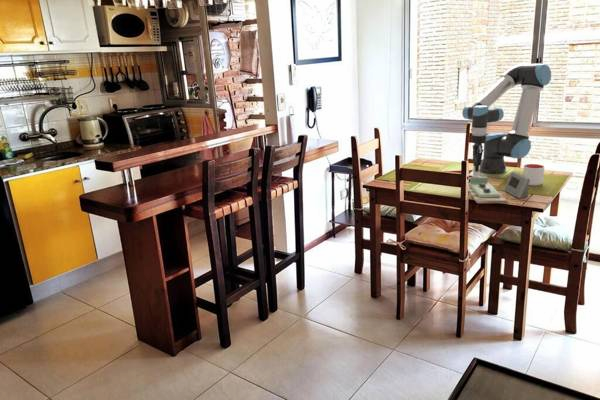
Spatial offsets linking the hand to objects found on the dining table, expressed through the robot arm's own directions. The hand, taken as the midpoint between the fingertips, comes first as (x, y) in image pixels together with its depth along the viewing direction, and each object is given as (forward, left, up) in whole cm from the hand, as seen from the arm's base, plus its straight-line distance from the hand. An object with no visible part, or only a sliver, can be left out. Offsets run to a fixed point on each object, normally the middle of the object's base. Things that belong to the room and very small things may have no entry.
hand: (475, 176), depth 254 cm
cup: (0, +30, -5) cm, 31 cm away
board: (+18, 0, -5) cm, 19 cm away
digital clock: (+19, +16, -5) cm, 25 cm away
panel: (+16, 0, -3) cm, 17 cm away
